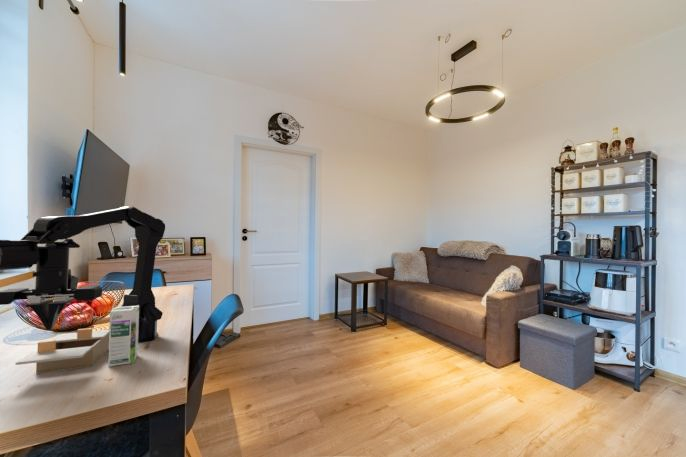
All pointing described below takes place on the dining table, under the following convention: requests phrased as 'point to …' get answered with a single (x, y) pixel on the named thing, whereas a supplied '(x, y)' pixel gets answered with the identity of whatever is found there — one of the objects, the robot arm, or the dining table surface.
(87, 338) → the right cover
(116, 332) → the syrup box
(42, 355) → the left cover
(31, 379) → the dining table surface
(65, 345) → the carton
